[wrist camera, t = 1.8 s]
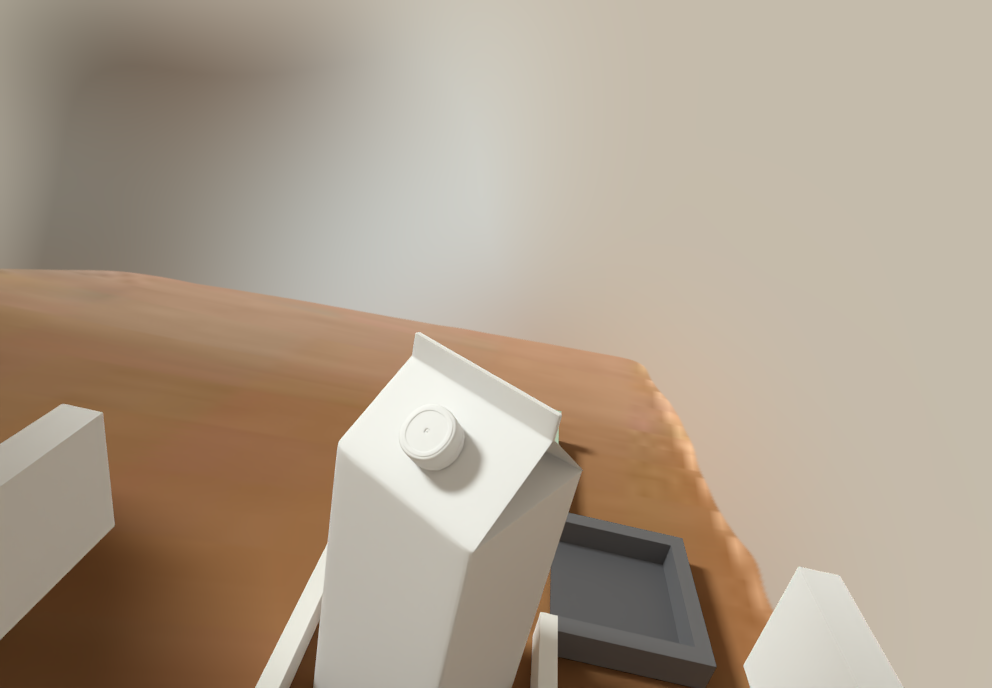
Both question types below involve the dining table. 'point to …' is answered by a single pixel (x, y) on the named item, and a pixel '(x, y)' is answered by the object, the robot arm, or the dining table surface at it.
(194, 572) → the dining table surface
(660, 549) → the trap lane
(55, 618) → the dining table surface
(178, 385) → the dining table surface
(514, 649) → the milk carton
